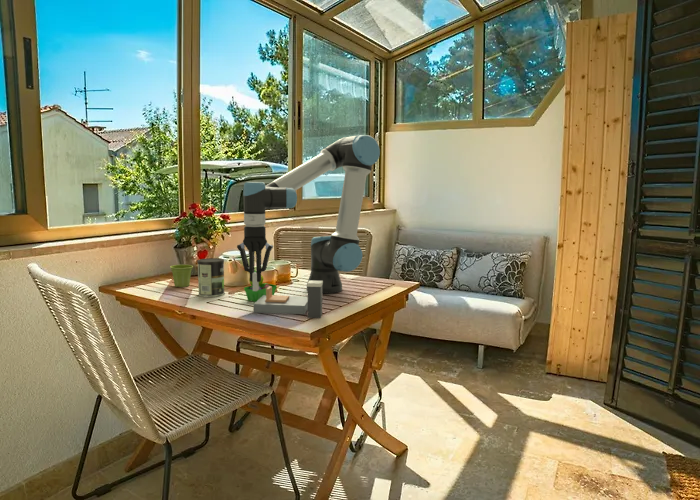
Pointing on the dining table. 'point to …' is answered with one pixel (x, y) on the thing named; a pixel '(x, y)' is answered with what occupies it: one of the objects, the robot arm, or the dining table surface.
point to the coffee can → (211, 277)
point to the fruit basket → (262, 290)
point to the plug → (314, 299)
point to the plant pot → (181, 275)
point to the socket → (282, 305)
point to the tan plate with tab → (274, 296)
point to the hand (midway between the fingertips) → (255, 290)
